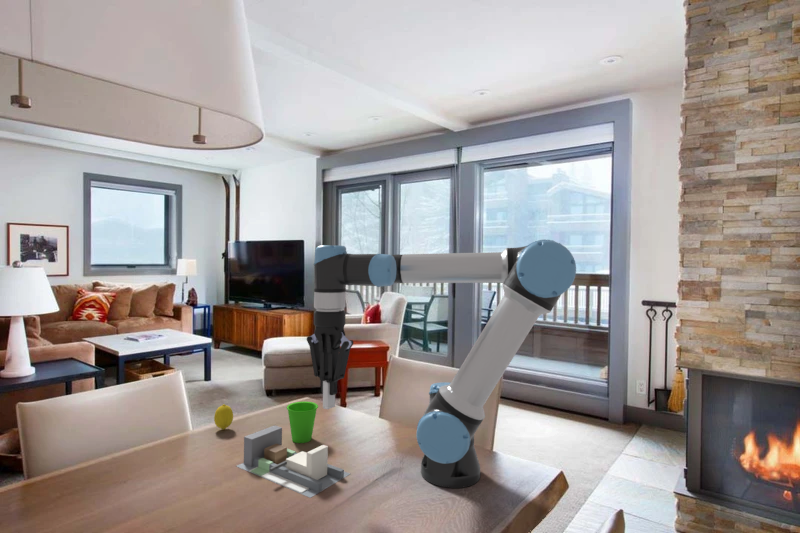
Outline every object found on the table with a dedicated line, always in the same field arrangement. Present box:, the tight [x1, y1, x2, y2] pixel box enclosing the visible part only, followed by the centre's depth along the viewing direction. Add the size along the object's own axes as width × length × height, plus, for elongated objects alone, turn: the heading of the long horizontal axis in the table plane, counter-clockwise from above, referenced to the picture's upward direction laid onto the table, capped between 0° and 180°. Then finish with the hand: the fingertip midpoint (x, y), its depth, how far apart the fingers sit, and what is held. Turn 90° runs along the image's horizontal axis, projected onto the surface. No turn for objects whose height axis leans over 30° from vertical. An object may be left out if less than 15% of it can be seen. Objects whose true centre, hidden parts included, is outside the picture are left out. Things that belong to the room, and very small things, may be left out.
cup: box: [286, 401, 319, 444], centre depth 133 cm, size 9×9×11 cm
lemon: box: [213, 403, 234, 431], centre depth 142 cm, size 6×6×8 cm
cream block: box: [270, 444, 329, 480], centre depth 109 cm, size 9×11×7 cm
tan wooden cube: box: [264, 444, 288, 465], centre depth 117 cm, size 4×4×4 cm
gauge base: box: [235, 425, 351, 499], centre depth 114 cm, size 26×14×8 cm, turn 57°
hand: (328, 407), depth 110 cm, fingers closed
